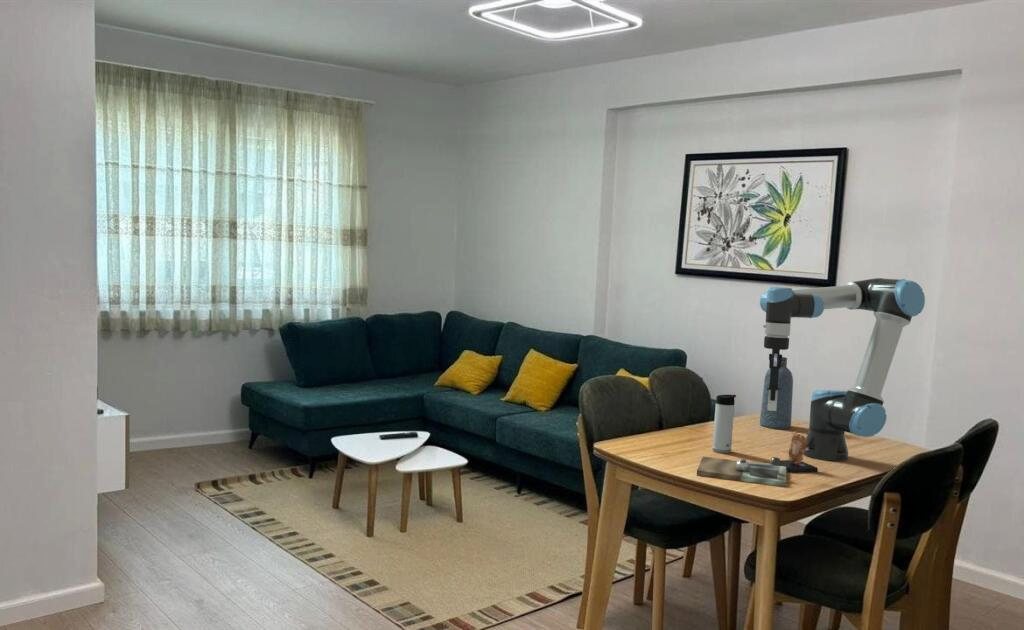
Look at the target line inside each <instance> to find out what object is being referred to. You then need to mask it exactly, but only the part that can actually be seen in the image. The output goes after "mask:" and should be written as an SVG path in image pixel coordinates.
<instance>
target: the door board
mask: <svg viewBox="0 0 1024 630" xmlns="http://www.w3.org/2000/svg"><path fill="white" fill-rule="evenodd" d="M737 461H738V460H735V459H727V458H719V457H718V458H717V457H709V456H702V458H701V460H700V463H699V465H698V467H697V469H696V476H698V477H707V478H715V479H723V480H729V481H738V482H739V481H740V482H745V483H754V484H760V485H768V486H775V487H777V486H778V487H782V488H786V487H787V471H786V467H785V466H780V473H779V474H778V469H774V468H765V467H757V466H751V467H750V471H739V470H736V463H737Z"/></svg>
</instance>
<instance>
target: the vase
mask: <svg viewBox="0 0 1024 630" xmlns="http://www.w3.org/2000/svg"><path fill="white" fill-rule="evenodd" d="M787 364H788V358H787V357H784V356H782V361H781V368H780V369H779V375H778V387H779V388H780V390H778V394H777V408H776V411H770V410H767V408H768V394H769V390H767V388H769V383H770V370H771V369H770V368H768V369H767V371H766V373H765V376H764V381H763V382H764V384H763V391H762V399H761V407H760V408H761V409H760V416H759V417H760V418H759V424H760V426H762V427H764V426H765V427H764V428H768V427H769V429H773V428H776V429H775V430H788V429H790V428H791V427H792V416H793V415H792V414H793V413H792V412H793V411H792V410H793V394H794V393H793V392H794V391H793V388H794V376H793V373H792V372H791V370H790V369H789V368H788V365H787Z"/></svg>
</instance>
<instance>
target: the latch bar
mask: <svg viewBox="0 0 1024 630" xmlns="http://www.w3.org/2000/svg"><path fill="white" fill-rule="evenodd" d="M780 460H781V459H780V458H779V457H776V456H775V457H774V456H773V457H771V462H768V463H767V462H757V461H756V462H755V461H747V459H743V458H740V459H739V460H736V461H737V463H736V470H739V471H750V467H751V466H757V467H765V468H774V469H778V474H779V473H780V465H779V463H780Z"/></svg>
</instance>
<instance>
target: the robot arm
mask: <svg viewBox="0 0 1024 630" xmlns="http://www.w3.org/2000/svg"><path fill="white" fill-rule="evenodd" d="M925 304H926V295H925V293H924V291H923V288H922V287H921V285H920V284H918V282H916V281H913V280H908V279H905V278H904V279H903V278H902V279H895V278H894V279H893V278H881V277H880V278H879V277H878V278H877V277H876V278H870V279H863V280H857V281H849V282H846V283H845V284H843V285H835V286H826V287H816V288H815V287H813V288H801V289H800V288H799V289H793V288H792V287H783V286H781V287H780V286H770V287H769V288H768V289H767V291H764V292H763V293H762V294H761V296H760V299H759V307H760V308H761V310H762V311H763V312H764V313H765V324H763V325H762V327H763V328H764V334H765V336H764V339H763V348H764V349H768V350H771V353H768V354H769V355H768V361H769V363H768V366H769V367H768V369H771V370H770V383H769V388H767V390H769V394H768V408H767V410H770V411H776V408H777V394H778V390H780V388H779V387H778V375H779V369H780V368H781V361H782V357H783V354H781V353H780V351H781V350H782V351H785V350H788V349H789V348H790V347H789V346H790V338H789V336H790V335H791V326H792V325H791V322H792V321H791V320H792V318H805V319H813V318H819V317H820V316H821V315H822V314H823V313H824V310H833V309H842V308H843V309H844V308H846V309H847V310H850V311H851V310H862V311H863V310H864V311H869V312H873V315H874V317H875V320H876V321H875V323H874V326H873V329H872V333H871V335H870V338H869V341H868V344H867V347H866V350H865V353H864V355H863V359H862V362H861V365H860V368H859V371H858V374H857V377H856V380H855V383H854V386H852V387H850V388H849V389H847V391H846V390H836V389H830V390H829V389H826V390H825V389H822V390H821V389H820V390H818V389H817V390H814V391H813V392H812V393H811V400H810V411H809V412H810V413H809V428H808V433H807V436H805V438H806V440H807V446H806V447H805V448H807V447H809V448H808V449H809V450H806V451H805V452H804V453H803V455H804V456H807V457H810V458H812V459H818V460H822V461H823V460H825V461H833V462H834V461H837V462H838V461H839V462H840V461H841V462H842V461H846V460H848V459H849V449H848V446H847V441H846V437H845V434H846V433H848V434H849V433H850V434H852V435H855V436H857V437H864V438H870V437H871V438H872V437H874V436H875V435H877V434H879V433H880V432H881V431H882V430H883V428H884V426H885V424H886V422H887V417H888V415H887V414H886V413H887V411H886V409H885V407H884V406H883V405H884V402H885V401H884V398H883V396H882V392H883V389H884V387H885V383H886V380H887V376H888V375H889V371H890V368H891V365H892V362H893V360H894V356H895V353H896V350H897V347H898V344H899V341H900V338H901V335H902V332H903V329H904V328H905V327H906V326H908V325H910V324H911V321H912V318H913V317H915V316H918V315H919V314H921V313H922V311H923V310H924V308H925ZM845 432H846V433H845ZM803 450H805V449H803Z"/></svg>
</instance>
